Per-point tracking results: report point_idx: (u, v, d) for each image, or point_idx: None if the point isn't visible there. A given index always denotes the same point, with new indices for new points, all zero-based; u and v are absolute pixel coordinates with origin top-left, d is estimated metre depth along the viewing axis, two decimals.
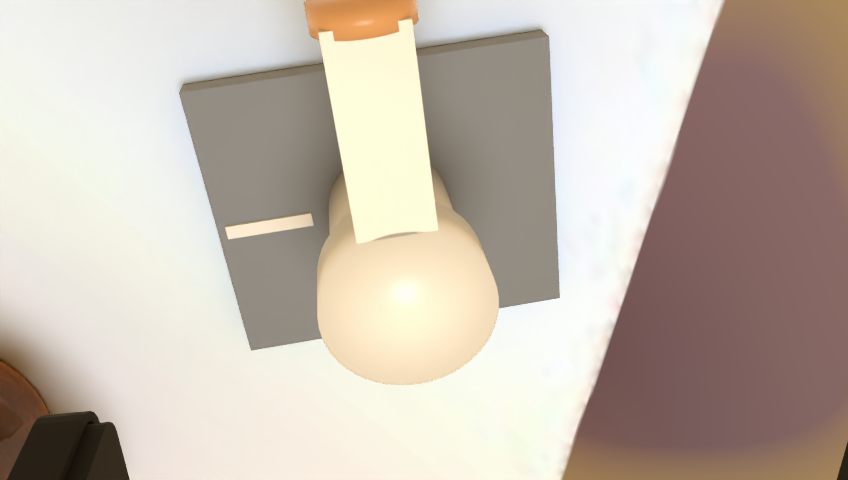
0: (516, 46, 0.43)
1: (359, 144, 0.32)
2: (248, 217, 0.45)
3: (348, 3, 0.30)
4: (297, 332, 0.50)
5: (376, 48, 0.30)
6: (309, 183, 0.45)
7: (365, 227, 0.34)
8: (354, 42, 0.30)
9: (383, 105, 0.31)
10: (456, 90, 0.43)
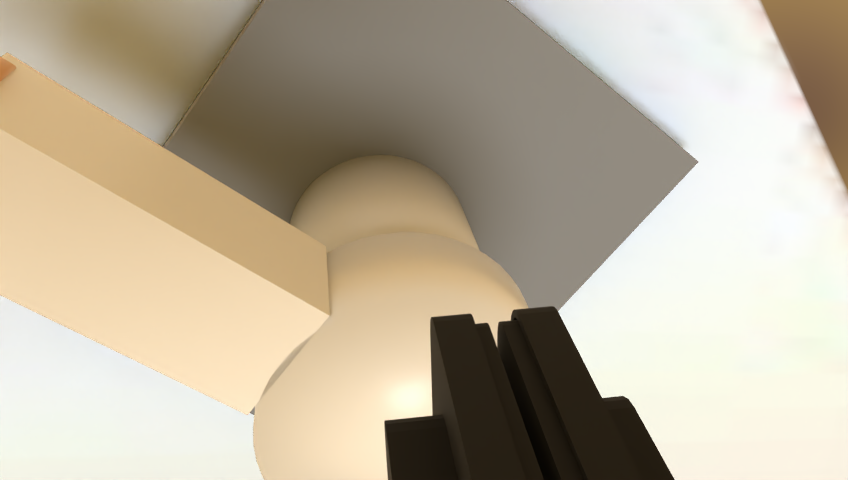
0: None
1: (99, 308, 0.18)
2: None
3: None
4: None
5: None
6: None
7: (232, 390, 0.20)
8: None
9: (62, 237, 0.17)
10: (314, 47, 0.27)
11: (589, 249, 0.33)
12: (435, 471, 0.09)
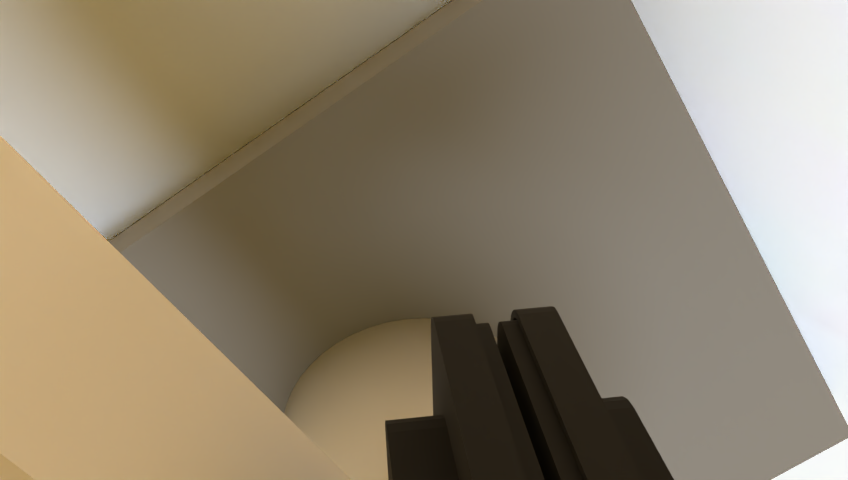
0: None
1: None
2: None
3: None
4: None
5: None
6: None
7: None
8: None
9: None
10: (431, 153, 0.18)
11: None
12: (435, 471, 0.09)
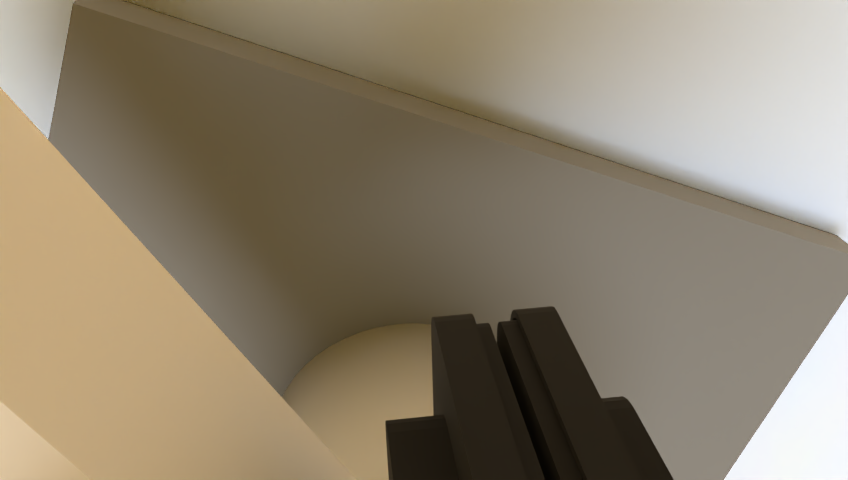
0: (810, 252, 0.20)
1: None
2: None
3: None
4: None
5: None
6: (272, 331, 0.19)
7: None
8: None
9: None
10: (659, 281, 0.20)
11: None
12: (436, 471, 0.09)
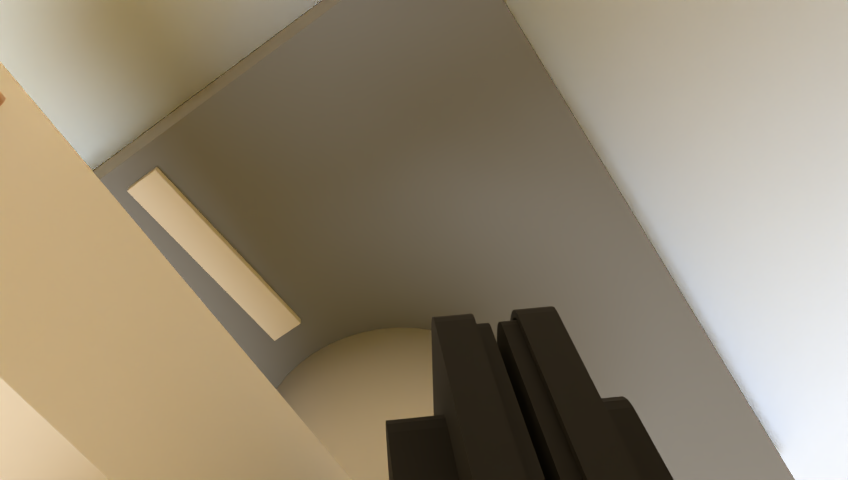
0: (771, 458, 0.24)
1: None
2: (211, 206, 0.18)
3: None
4: None
5: None
6: (365, 286, 0.19)
7: None
8: None
9: None
10: (667, 421, 0.22)
11: None
12: (435, 471, 0.09)
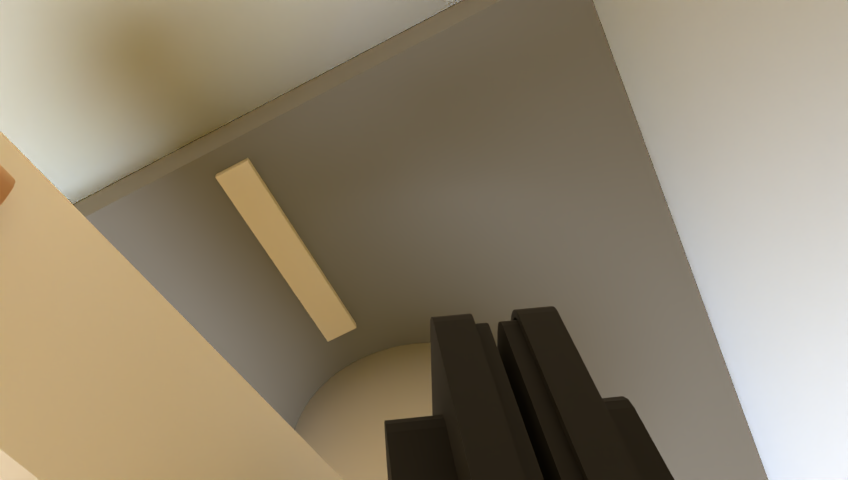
0: None
1: None
2: (292, 203, 0.18)
3: None
4: None
5: None
6: (424, 299, 0.19)
7: None
8: None
9: None
10: (681, 464, 0.23)
11: None
12: (435, 471, 0.09)
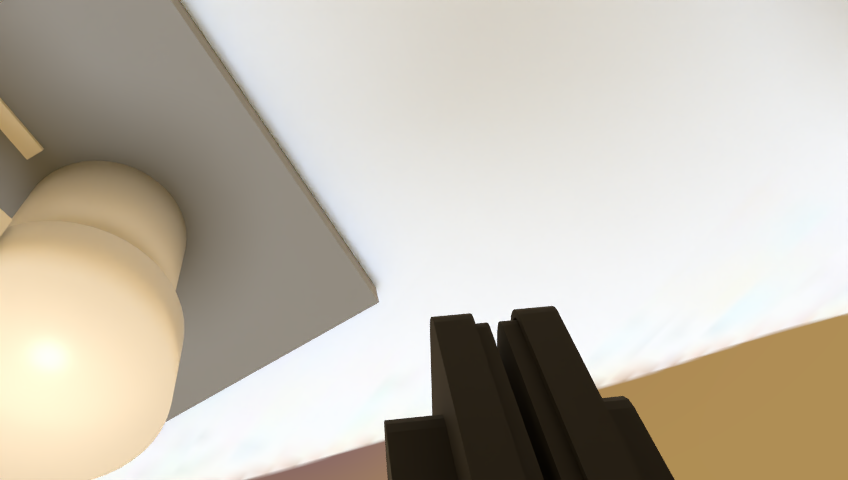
0: (356, 278, 0.38)
1: None
2: None
3: None
4: None
5: None
6: (83, 132, 0.33)
7: None
8: None
9: None
10: (282, 243, 0.37)
11: None
12: (435, 471, 0.09)
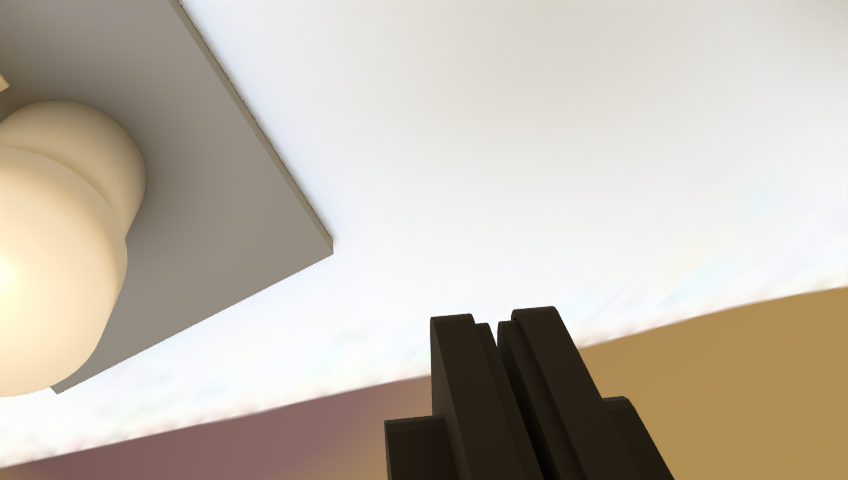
0: (311, 229, 0.40)
1: None
2: None
3: None
4: None
5: None
6: (47, 71, 0.35)
7: None
8: None
9: None
10: (239, 191, 0.38)
11: None
12: (435, 470, 0.09)
